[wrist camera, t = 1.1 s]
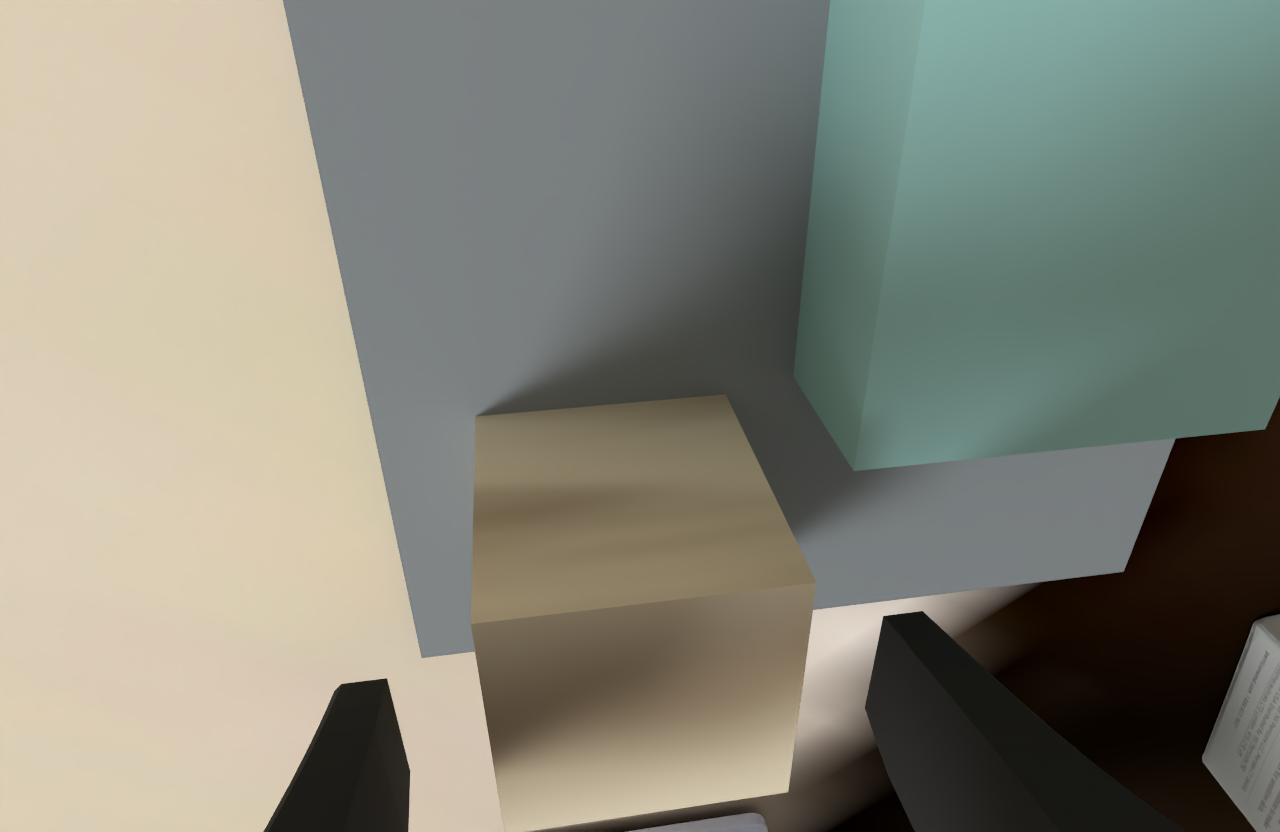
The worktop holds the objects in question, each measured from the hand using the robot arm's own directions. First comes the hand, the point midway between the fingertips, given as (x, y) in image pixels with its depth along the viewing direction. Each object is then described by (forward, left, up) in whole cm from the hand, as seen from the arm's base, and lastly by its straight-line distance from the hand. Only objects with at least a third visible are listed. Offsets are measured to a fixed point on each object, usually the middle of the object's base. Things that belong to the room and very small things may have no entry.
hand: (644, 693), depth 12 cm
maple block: (0, 0, -5) cm, 5 cm away
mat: (+3, -4, -5) cm, 7 cm away
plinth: (+6, -7, -5) cm, 10 cm away
